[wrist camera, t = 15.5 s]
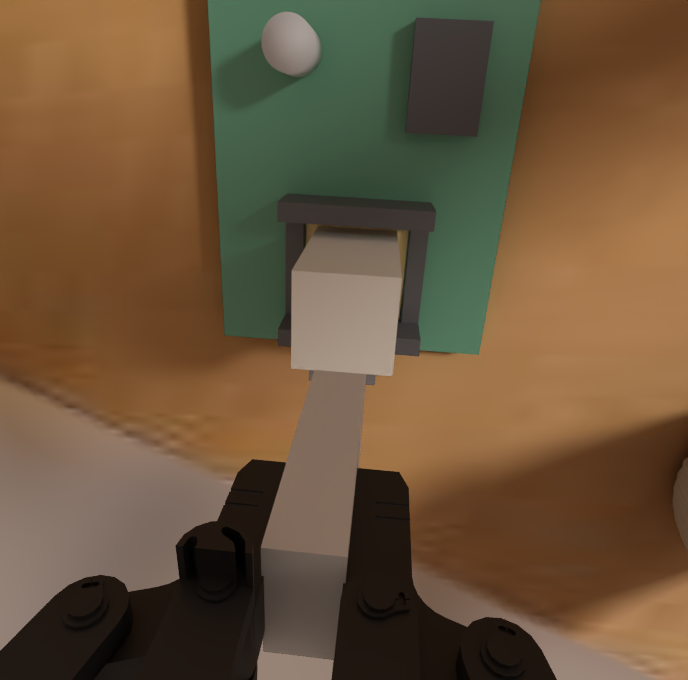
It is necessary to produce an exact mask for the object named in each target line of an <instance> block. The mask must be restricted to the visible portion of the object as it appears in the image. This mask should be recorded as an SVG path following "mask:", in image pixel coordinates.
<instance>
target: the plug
mask: <svg viewBox="0 0 688 680" xmlns="http://www.w3.org/2000/svg"><path fill="white" fill-rule="evenodd" d="M401 283H402V273H401V264H400V254H399V244H398V235H397V231H388V230H372V229H356V228H340V227H324V226H318V227H317V229H316V230H315V232H314V234H313V235H312V237H311V239H310V240H309V242H308V244H307V245H306V247H305V249H304V250H303V252H302V254H301V256H300V257H299V259H298V261H297V262H296V264H295V266H294V267H293V269H292V291H291V369H304V370H309V380H311V379H312V376H313V373H314V370H324V371H336V372H347V373H359V374H366V384H365V385H374V384H375V375H383V376H393V366H394V356H395V345H396V335H397V325H398V314H399V304H400V294H401Z"/></svg>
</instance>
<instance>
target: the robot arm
mask: <svg viewBox="0 0 688 680" xmlns="http://www.w3.org/2000/svg"><path fill="white" fill-rule="evenodd" d="M365 384H366V374H359V373H347V372H336V371H324V370H314V373H313V376H312V379H311V383H310V386H309V389H308V393H307V396H306V399H305V403H304V406H303V409H302V412H301V416H300V419H299V422H298V426H297V429H296V432H295V436H294V439H293V442H292V446H291V449H290V452H289V455H288V459H287V462H286V463H285V462H275V461H264V460H254V459H252V460H251V461H250V462H249V463H248V464H247V465H246V466H245V467H243V468H242V469H241V470H240V471H239V472H238V474H237V476H236V478H235V481H234V483H233V485H232V488H231V492H229V495H228V497H227V499H226V502H225V505H224V506H223V509H222V511H221V513H220V516H219V518H218V520H217V521H213V522H208V523H205V524H202V525H199V526H196V527H195V528H193V529H192V530H190V531H189V532H187V533H186V534H184V535H183V537H182V538H181V539H180V541H179V542H178V543H177V545H176V552H177V561H178V569H179V577H180V579H178V580H176V581H174V582H172V583H170V584H166V585H163V586H159V587H154V588H149V589H144V590H137V591H132V592H128V591H127V588H126V586H125V584H124V583H122V582H121V581H119V580H118V579H117V578H115V577H110V576H104V575H98V576H93V577H87V578H83V579H81V580H79V581H77V582H74V583H72V584H70V585H68V586H67V587H66V588H65V589H63V590H62V591H61V592H59V593H58V594H57V595H55V596H54V597H53V598H52V599H51V600H50V601H49V602H48V603H47V604H46V605H45V606H44V607H43V608H42V609H41V610H40V612H38V613H37V614H36V616H34V618H32V619H31V621H29V622H28V623H27V624H26V625H25V626H24V627H23V628H22V630H20V631H19V633H18V634H17V635H16V636H15V637H14V638H13V639H12V640H11V641H10V642H9V643H8V644H7V645H6V646H5V647H4V648H3V649H2V650H1V651H0V680H257V660H258V656H259V652H260V648H261V644H262V640H263V651H264V652H272V653H281V654H289V655H298V656H306V657H315V658H323V659H331V660H334V663H333V672H332V680H557V679H556V677H555V675H554V673H553V672H552V669H551V668H550V666H549V664H548V662H547V660H546V658H545V656H544V654H543V652H542V650H541V649H540V647H539V646H538V645H537V643H536V642H535V640H534V639H533V638H532V636H531V635H529V634H528V633H527V632H526V631H524V630H523V629H522V628H521V627H519V626H518V625H516V624H514V623H511V622H509V621H506V620H504V619H502V618H490V617H485V618H482V619H479V620H476V621H473V622H472V623H471V624H470V625H469V626H468V627H466V626H463V625H461V624H459V623H456V622H454V621H452V620H449V619H447V618H445V617H443V616H441V615H439V614H437V613H436V612H434V611H433V610H432V609H431V608H429V607H428V606H427V605H426V604H425V603H424V602H423V601H422V599H421V598H420V597H419V596H418V594H417V592H416V589H415V587H414V585H413V579H412V565H411V539H410V514H409V488H408V486H407V485H406V483H405V481H404V479H403V478H402V476H401V474H400V473H399V472H393V471H382V470H372V469H362V468H359V460H360V449H361V436H362V423H363V410H364V397H365Z"/></svg>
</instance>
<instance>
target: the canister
mask: <svg viewBox="0 0 688 680" xmlns="http://www.w3.org/2000/svg"><path fill="white" fill-rule="evenodd" d="M673 493H674V494H673V498H672V504H673V509H674V518H675V522H676V525H677V528H678V530H679V533H680V536H681V539H682V541H683V543H684V546H685V548H686V550H687V552H688V457H687V458H686V459H684V461H683V465H682V468H681V469H680V470H679V471H678V473H677V480H676V482H675V483H674V487H673Z"/></svg>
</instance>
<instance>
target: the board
mask: <svg viewBox="0 0 688 680" xmlns="http://www.w3.org/2000/svg"><path fill="white" fill-rule="evenodd" d="M540 3H541V0H208V16H209V36H210V56H211V76H212V96H213V115H214V135H215V155H216V175H217V195H218V215H219V235H220V255H221V275H222V295H223V314H224V334H225V335H226V336H239V337H252V338H265V339H278V346H291V291H292V269H293V267H294V266H295V264H296V262H297V261H298V259H299V257H300V256H301V254H302V252H303V250H304V249H305V247H306V245H307V244H308V242H309V240H310V239H311V237H312V235H313V234H314V232H315V230H316V229H317V227H318V226H324V227H340V228H356V229H372V230H388V231H397V235H398V244H399V254H400V264H401V273H402V283H401V294H400V304H399V314H398V325H397V335H396V345H395V354H396V355H409V356H419V351H420V350H424V351H437V352H450V353H463V354H477V355H479V351H480V345H481V339H482V333H483V328H484V322H485V316H486V311H487V305H488V299H489V294H490V288H491V282H492V276H493V271H494V265H495V259H496V254H497V248H498V242H499V237H500V231H501V225H502V219H503V214H504V208H505V202H506V197H507V191H508V185H509V179H510V174H511V168H512V162H513V157H514V151H515V145H516V140H517V134H518V128H519V122H520V117H521V111H522V105H523V100H524V94H525V88H526V83H527V77H528V71H529V65H530V60H531V54H532V48H533V43H534V37H535V31H536V26H537V20H538V14H539V8H540Z"/></svg>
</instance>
